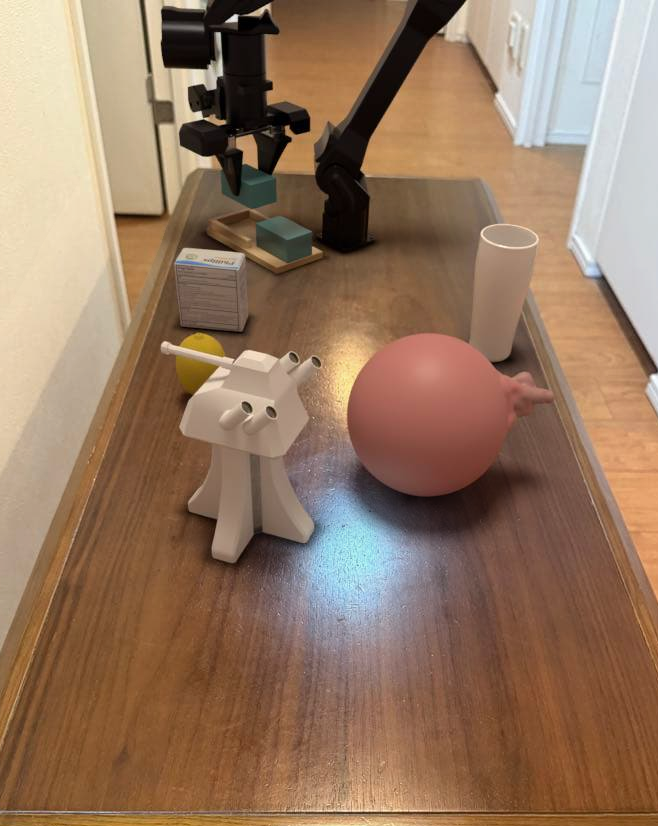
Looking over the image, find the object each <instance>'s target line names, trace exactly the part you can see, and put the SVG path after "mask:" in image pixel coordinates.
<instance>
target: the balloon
mask: <svg viewBox="0 0 658 826" xmlns="http://www.w3.org/2000/svg"><path fill="white" fill-rule="evenodd" d="M554 401H556V396H555V393H554V392H553V391H551V390H549V389H545V388H541V387H537V385H536V384H535V381H534V378H533V376H532V374H531V373H530V372H528V371H521V372H519V373H517V374H516V375H514V376H512V377H510V376H508V375H506V374H503V373H501V372H500V371H499V370H498V369H496V367H495V366H494V365H493V364H492V362H490V361H489V360H488V359H487V358H486V357H485V356H484V355H483V354H482V353H481V352H480V351H478V350H477V349H476V348H474V347H473V346H471V345H470V344H469V342H466V341H464V340H462V339H459V338H457V337H454V336H451V335H447V334H442V333H435V332H434V333H431V332H424V333H416V334H411V335H407V336H404V337H400V338H398V339H396V340H394V341H392V342H389V343H388V344H386V345H384V346H383V347H381V348H380V349H379V350H377V351H376V352H375V353H374V354H373V355H372V356H370V358H369V359H368V360H367V361H366V363H365V364H364V365H363V366H362V367H361V369H360V370H359V372H358V373H357V376H356V377H355V379H354V382H353V383H352V386H351V390H350V393H349V396H348V401H347V408H346V422H347V423H346V425H347V430H348V435H349V439H350V443H351V445H352V447H353V451H354V452H355V454H356V456H357V457H358V460H359V461H360V462H361V464H362V465H363V466H364V467H365V469H366V471H368V472H369V473H370V474H371V475H372V476H373V477H374V478H375V479H377V480H378V481H379V482H381V484H384V485H385V486H387V487H389V488H390V489H393V490H394V491H397V492H400V493H403V494H405V495H410V496H416V497H438V496H439V497H440V496H443V495H444V496H445V495H448V494H452V493H455V492H457V491H459V490H462V489H464V488H466V487H468V486H469V485H471V484H472V483H474V482H476V481H477V480H478V479H479V478H480V477H481V476H482V475H484V474H485V473H486V472H487V471H488V470H489V468H491V466H492V465H493V463H494V462H495V461H496V459H497V457H498V456H499V454H500V452H501V450H502V449H503V446H504V443H505V440H506V437H507V434H508V433H509V432H510V431H511V430H512V429H513V428H514V426H515V425H516V423H517V421H518V418H522V417H527V416H529V415H531V414H532V413H533V412H534V409H535V405H536V404H537V405H538V404H539V405H540V404H542V405H543V404H552V403H553V402H554Z"/></svg>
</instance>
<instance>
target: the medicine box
mask: <svg viewBox="0 0 658 826" xmlns="http://www.w3.org/2000/svg"><path fill="white" fill-rule="evenodd" d="M246 258H247V257H246V256H245V254H244V253H239V252H237V251H227V250H216V249H206V248H205V249H203V248H194V247H193V248H192V247H183V248H182V249H181V251H180V252H179V254H178V255H177V258H176V259H175V261H174V263H173V268H174V276H175V285H176V294H177V303H178V313H179V320H180V321H179V322H180V323H179V324H180V327H184V328H197V329H207V330H218V331H229V332H240V333H242V332H243V331H244V328H245V325H246V322H247V321H248V318H249V315H250V314H249V299H248V298H249V297H248V283H247V281H248V279H247V264H246V263H247V261H246Z"/></svg>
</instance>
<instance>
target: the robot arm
mask: <svg viewBox="0 0 658 826" xmlns="http://www.w3.org/2000/svg"><path fill="white" fill-rule="evenodd" d="M274 1H275V0H207V2H206V6H205V9H204V8H188V7H187V8H185V7H184V8H183V7H182V8H181V7H177V6H173V5H162V7H161V10H160V17H161V24H160V25H161V27H160V28H161V29H160V30H161V39H160V53H161V59H162V65H163V68H164V69H171V70H202V71H203V70H204V71H205V70H206V71H208V70H210V66H212V62H217V60H218V57H217V56H218V48H217V33H220V50H221V66H222V67H221V68H222V75H220V76H216V80H215V87H216V88H214V89H207V87H206V85H205V83H198V84H194V85H190V86H187V102H188V106H189V110H190V111H191V112H192V113H193V114H194V113H198V112H201V116H202V119H197V120H193V121H188V122H184V123H182V124H181V126H180V128H179V130H178V139H179V140H178V142H179V146H180V147H182V148H184V149H186V150H188V151H190V152H192V153H194V154H196V155H198V156H200V157H204V158H210V157H214V156H215V158H216V160H217V162H218V163H219V165H220V167H221V170H223V172H224V175H225V177H226V179H227V182H228V184H229V187H230V189H231V192H232V194H233V195H234V196H239V193H240V188H241V176H242V165H243V164H244V150H241V149H239V148H237V139H239V138H242V137H247V136H250V135H251V136H252V138H253V140H254V142H255V145H256V156H257V157H256V158H257V169H258V170H260V171H262V172H264V173H267V174H269V175H271V176H273V174H274V172H275V169H276V167H277V165H278V163H279V161H280V159H281V157H282V155H283V153H284V151H285V150H286V148H287V146H288V145H289V144H291V143H292V142H293V137H292V136H289V135H287V131H286V130H287V129H286V127H288V128H289V131H290V132H291V133H292V134H293V135H295V136H298V135H303V134H307V133H311V127H312V126H311V124H312V122H311V119H312V118H311V115H310V113H309V111H308V110H307V108H305V107H302V106H299V105H297V104H295V103H292V102H290V101H287V100H284V101H280V102H275V103H270V104H268V92H270V91H274V82H273V81H272V80H269V79H268V77H267V43H266V42H267V38H266V35H270V36H271V35H273V36H278V35H279V34H280V32H281V28H280V23H279V21H277V20H276V19H275V18H274V17H273V16H272V14H271V12H270V10H269V9H268V8H264V7H266V6H268V5H270V4H271V3H272V2H274ZM467 1H468V0H407V3H406V6H405V10H404V12H403V16H402V19H401V20H400V22H399V24H398V26H397V28H396V29H395V32H394V33H393V34H392V37H391V39H390V40H389V42H388V44H387V45H386V47H385V48H384V51H383V52H382V54H381V56H380V58H379V59H378V61H377V63H376V65H375V66H374V68H373V70H372V72H371V73H370V75H369V76H368V78H367V80H366V82H365V83H364V86H363V87H362V89H361V90H360V92H359V94H358V96H357V98H356V99H355V101H354V103H353V104H352V106H351V108H350V110H349V112H348V114H347V115H346V117H345V118H344V119H343V120H341V121H340V123H338V124H337V125H336V126H335V124H333V123H332V122H331V121H329V120H328V121H327V122H326V123H325V125H324V128H323V132H322V134H321V136H320V137H319V138H318V140H317V141H316V142H315V143H314V144H313V152H314V154H313V169H314V178H315V183H316V185H317V187H318V189H319V190H320V191H321V192H322V193H324V195H327V199H324V200H323V201H324V204H323V212H322V214H321V215H322V217H321V232H320V233H317V234H316V239H317V240H318V241H321V242H323V243H325V244H326V245H329V246H331V247H332V248H335V249H337V250H339V251H340V252H342V253H347V252H350V251H353V250H356V249H359V248H362V247H365V246H367V245H370V244H373V243H375V241H376V238H375V237H373V236H372V235H369V233H368V232H369V218H370V217H369V216H370V201H371V196H370V195H371V194H370V191H369V190H370V189H369V187H368V182H367V181H368V180H367V177H366V174H365V173H364V172H363V170H362V167H363V164H364V161H365V157H366V153H367V150H368V147H369V143H370V140H371V138H372V136H373V135H374V133H375V131H376V129H377V128H378V126H379V125H380V123H381V122H382V119H383V118H384V116H385V114H386V113H387V112H388V110H389V108H390V106H391V104H392V102H393V101H394V99H395V97H396V96H397V94H398V93H399V91H400V89H401V87H402V86H403V85H404V83H405V81H406V80H407V78H408V76H409V74H410V73H411V71H412V70H413V68H414V67H415V64H416V63H417V61H418V59H419V57H420V56H421V54H422V53H423V51H424V49H425V47H426V46H427V44H428V43H429V42H430V40H431V39H432V38H434V37H435V36H436V35H437V34H438V33H440V31H441V30H442V29H444V28H445V27H446V26H447V25H448V24H449V23H450V22H451V20H452V19H453V18H454V17H455V15H456V14H457V13H458V12H459V11H460V9H461V8H462V7H463V6H464V5H465V3H466V2H467ZM262 8H264V10H263V12H262V13H260V15H250V14H253V13H255V12H256V11H258V10H260V9H262ZM235 15H237V21H228V20H230V19H232V17H234V16H235ZM213 115H214V118H215V119H216V120H218V121H224V122H225V123H224V124H216V123H214V122H211V121H209V120H207V118H210V116H213Z"/></svg>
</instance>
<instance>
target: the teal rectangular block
mask: <svg viewBox="0 0 658 826" xmlns="http://www.w3.org/2000/svg"><path fill="white" fill-rule="evenodd" d="M220 184H221V194H222V195H223V196H225V197H227V198H229V199H230V200H233V201H234V202H236V203H238V204H241V206H244V207H245V208H250V209H253V210H255V209H257V208H262V207H264V206H268V205H272V204H274V203H277V201H278V200H277V199H278V195H277V193H278V192H277V191H278V190H277V177H275V176H273V175H272V176H271V175H269V174H267V173H264V172H262V171H260V170H258V168H256V167H254V166H252V165H250V164H247V163H242V176H241V188H240V193H239V196H234V195H233V194H232V192H231V189H230V187H229V184H228V182H227V179H226V177H225V175H224V172H223V170H222V169H221V170H220Z"/></svg>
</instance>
